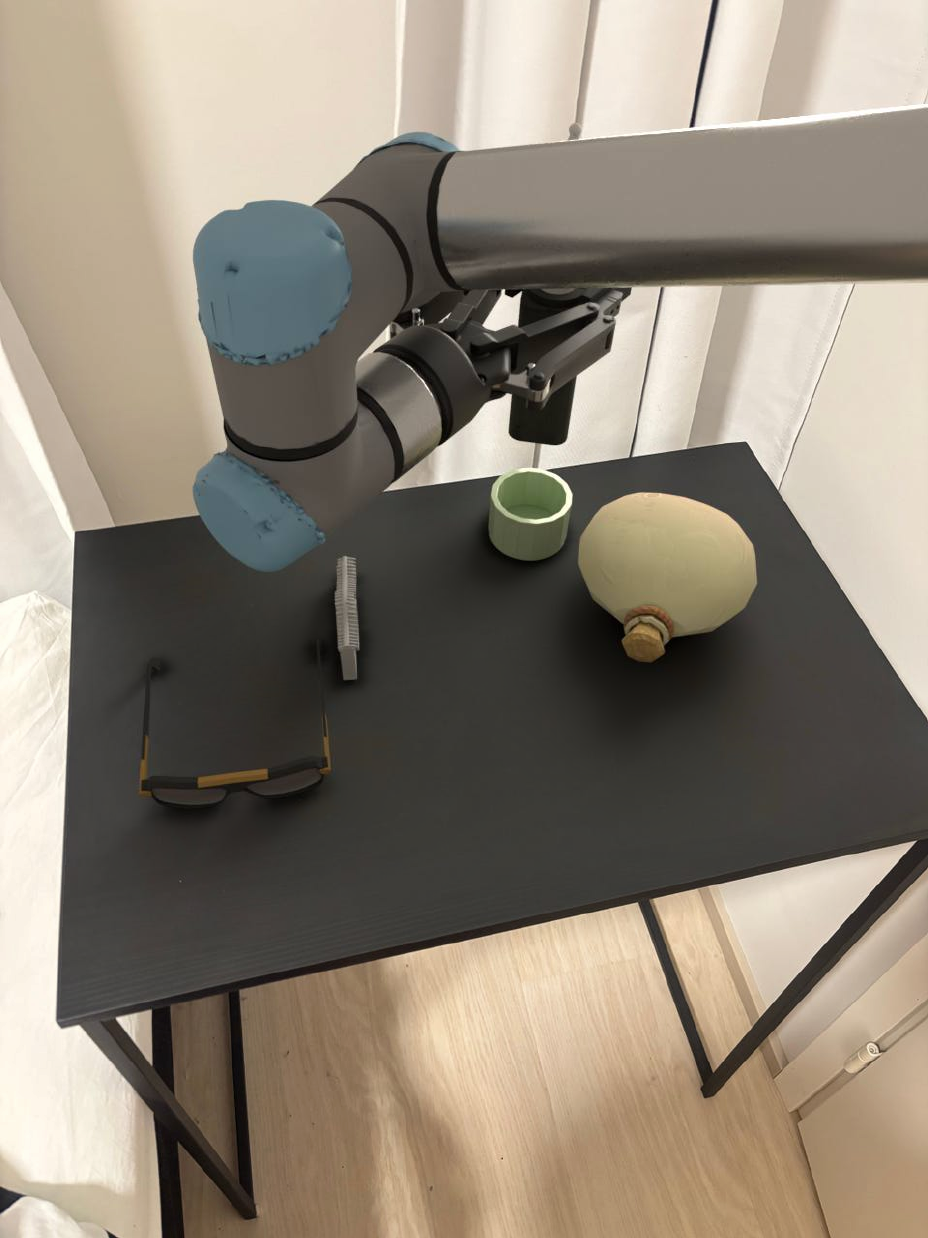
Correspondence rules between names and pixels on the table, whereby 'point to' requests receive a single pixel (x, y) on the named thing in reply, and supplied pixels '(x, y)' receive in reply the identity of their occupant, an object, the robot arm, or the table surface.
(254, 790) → the sunglasses
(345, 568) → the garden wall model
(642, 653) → the flask
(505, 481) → the candle holder
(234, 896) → the table surface
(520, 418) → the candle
